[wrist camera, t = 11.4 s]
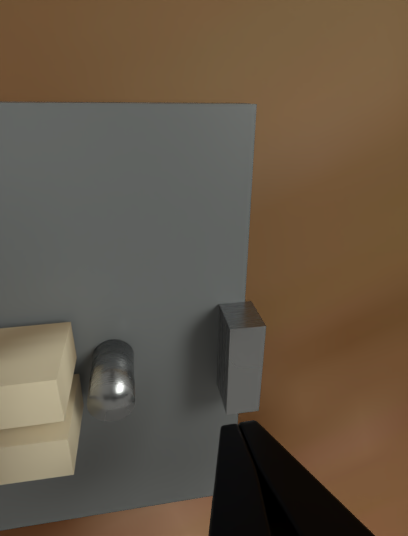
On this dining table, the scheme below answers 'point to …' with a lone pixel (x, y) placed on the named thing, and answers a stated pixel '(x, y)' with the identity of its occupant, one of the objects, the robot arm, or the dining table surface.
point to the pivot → (228, 367)
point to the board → (127, 281)
